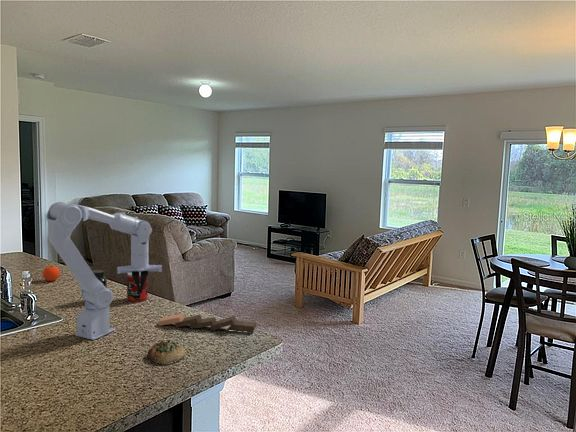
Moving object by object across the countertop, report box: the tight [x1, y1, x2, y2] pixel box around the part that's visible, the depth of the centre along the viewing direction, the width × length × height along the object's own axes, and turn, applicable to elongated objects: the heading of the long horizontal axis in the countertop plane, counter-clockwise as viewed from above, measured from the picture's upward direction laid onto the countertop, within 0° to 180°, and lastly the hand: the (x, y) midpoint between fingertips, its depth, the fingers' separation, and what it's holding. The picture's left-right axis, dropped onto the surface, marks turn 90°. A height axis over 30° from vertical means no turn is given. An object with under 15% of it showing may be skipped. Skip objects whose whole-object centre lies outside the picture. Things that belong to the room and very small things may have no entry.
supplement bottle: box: [92, 269, 108, 288], centre depth 170 cm, size 7×7×12 cm
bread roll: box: [146, 339, 188, 364], centre depth 125 cm, size 11×11×5 cm
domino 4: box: [209, 315, 237, 331], centre depth 147 cm, size 2×4×8 cm
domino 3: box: [189, 316, 217, 329], centre depth 148 cm, size 2×4×8 cm
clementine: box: [42, 265, 61, 282], centre depth 196 cm, size 8×7×7 cm
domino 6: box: [229, 319, 257, 332], centre depth 147 cm, size 2×4×8 cm
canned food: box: [126, 272, 149, 303], centre depth 175 cm, size 8×8×11 cm
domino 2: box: [174, 313, 203, 328], centre depth 149 cm, size 2×4×8 cm
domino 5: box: [228, 325, 253, 333], centre depth 148 cm, size 2×4×8 cm
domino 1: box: [157, 313, 186, 327], centre depth 149 cm, size 2×4×8 cm
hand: (140, 292), depth 151 cm, fingers closed
